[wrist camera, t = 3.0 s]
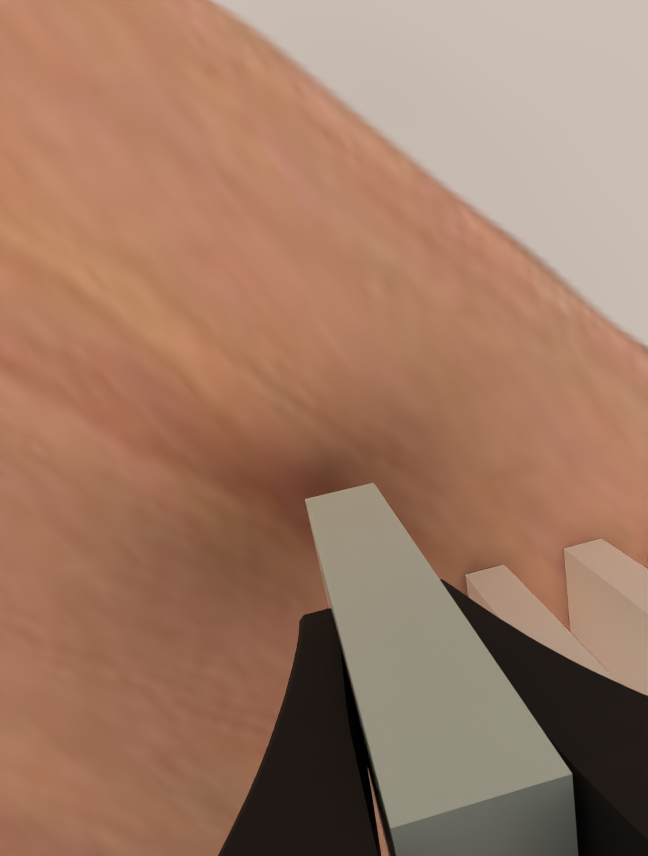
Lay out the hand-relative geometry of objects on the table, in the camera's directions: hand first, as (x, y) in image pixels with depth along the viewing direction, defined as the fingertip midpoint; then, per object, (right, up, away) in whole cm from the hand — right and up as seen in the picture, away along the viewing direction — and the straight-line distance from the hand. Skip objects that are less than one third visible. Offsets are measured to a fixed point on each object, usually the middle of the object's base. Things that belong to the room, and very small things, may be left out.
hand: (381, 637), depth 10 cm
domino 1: (0, +1, +3) cm, 3 cm away
